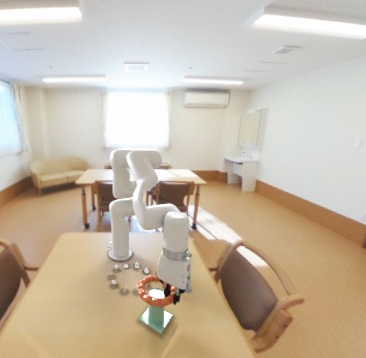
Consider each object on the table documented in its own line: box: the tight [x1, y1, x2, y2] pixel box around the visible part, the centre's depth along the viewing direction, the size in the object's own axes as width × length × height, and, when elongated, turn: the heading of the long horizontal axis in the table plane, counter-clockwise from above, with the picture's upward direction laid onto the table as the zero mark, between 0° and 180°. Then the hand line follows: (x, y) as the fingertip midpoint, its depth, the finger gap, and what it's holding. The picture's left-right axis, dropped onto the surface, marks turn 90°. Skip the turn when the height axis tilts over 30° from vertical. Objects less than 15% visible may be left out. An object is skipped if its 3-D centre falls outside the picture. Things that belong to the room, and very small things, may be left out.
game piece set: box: [110, 261, 151, 292], centre depth 97 cm, size 19×20×4 cm
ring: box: [136, 274, 175, 308], centre depth 73 cm, size 14×14×2 cm
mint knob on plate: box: [138, 287, 173, 334], centre depth 75 cm, size 9×9×11 cm
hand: (171, 299), depth 70 cm, fingers closed on ring, 2 cm apart
